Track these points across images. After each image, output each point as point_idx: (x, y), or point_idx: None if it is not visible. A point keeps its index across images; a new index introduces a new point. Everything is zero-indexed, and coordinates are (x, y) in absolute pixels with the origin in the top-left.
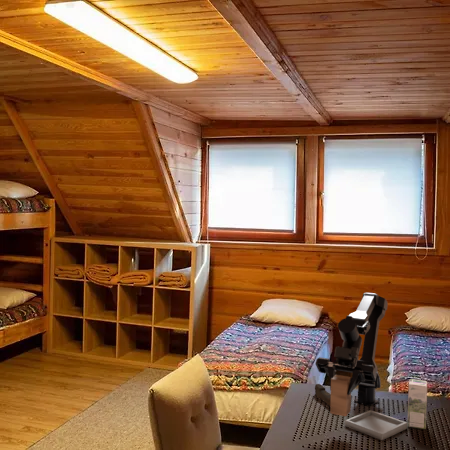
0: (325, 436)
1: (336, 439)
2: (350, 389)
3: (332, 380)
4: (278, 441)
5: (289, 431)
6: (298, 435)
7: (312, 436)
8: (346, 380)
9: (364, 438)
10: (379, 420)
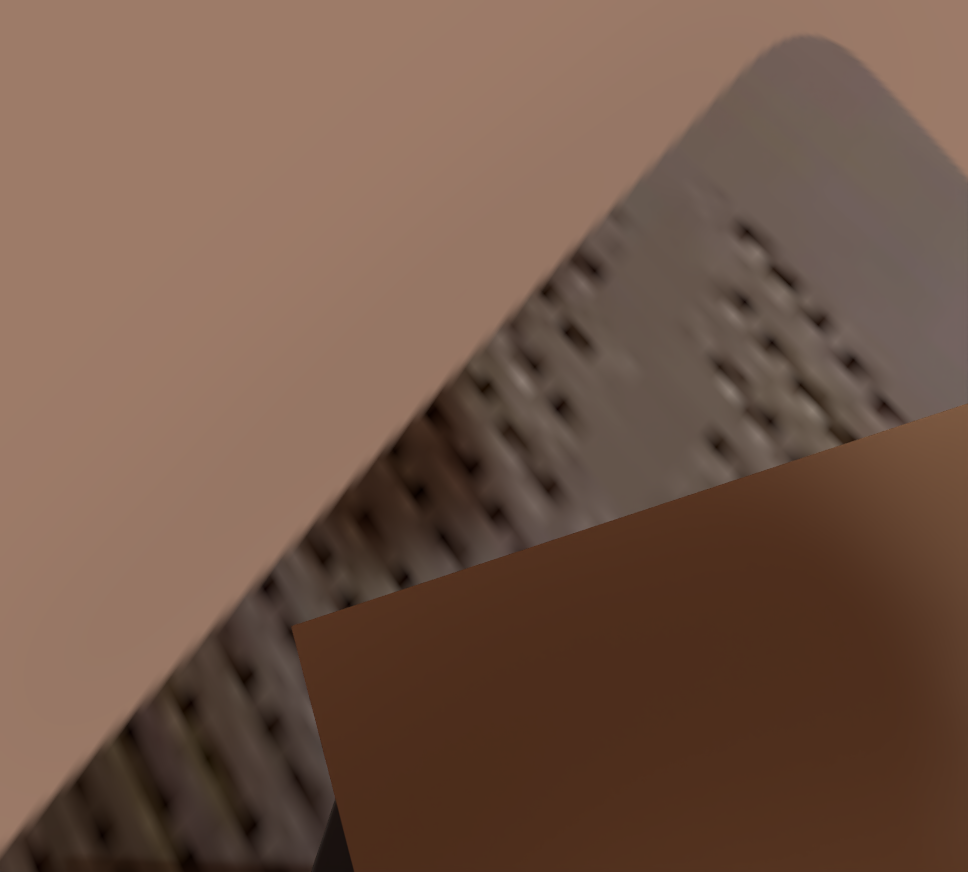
0: (606, 520)
1: (484, 546)
2: (324, 833)
3: (899, 433)
4: (804, 120)
5: (914, 345)
6: (791, 338)
7: (690, 421)
8: (386, 759)
9: (284, 812)
10: None
